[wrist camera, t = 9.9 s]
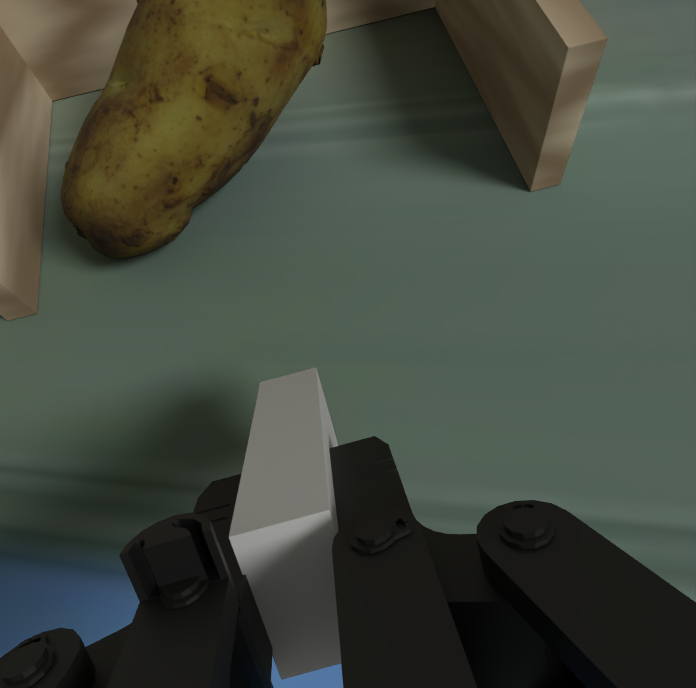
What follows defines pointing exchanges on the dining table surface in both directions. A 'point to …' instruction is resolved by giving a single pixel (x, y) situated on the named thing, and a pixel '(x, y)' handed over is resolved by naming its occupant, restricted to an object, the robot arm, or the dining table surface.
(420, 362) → the dining table surface
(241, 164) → the potato
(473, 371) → the dining table surface
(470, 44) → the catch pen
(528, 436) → the dining table surface
